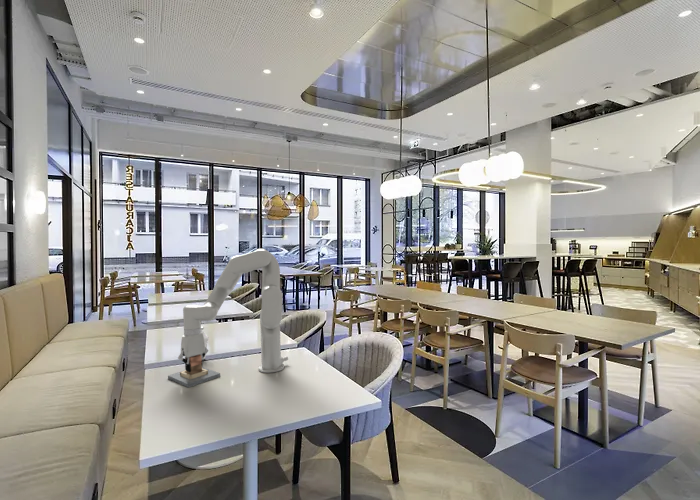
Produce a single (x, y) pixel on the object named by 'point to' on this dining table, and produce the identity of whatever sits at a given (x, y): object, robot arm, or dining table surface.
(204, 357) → the soft serve ice cream cone
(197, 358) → the block stack
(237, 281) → the robot arm
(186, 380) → the slate board
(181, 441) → the dining table surface
